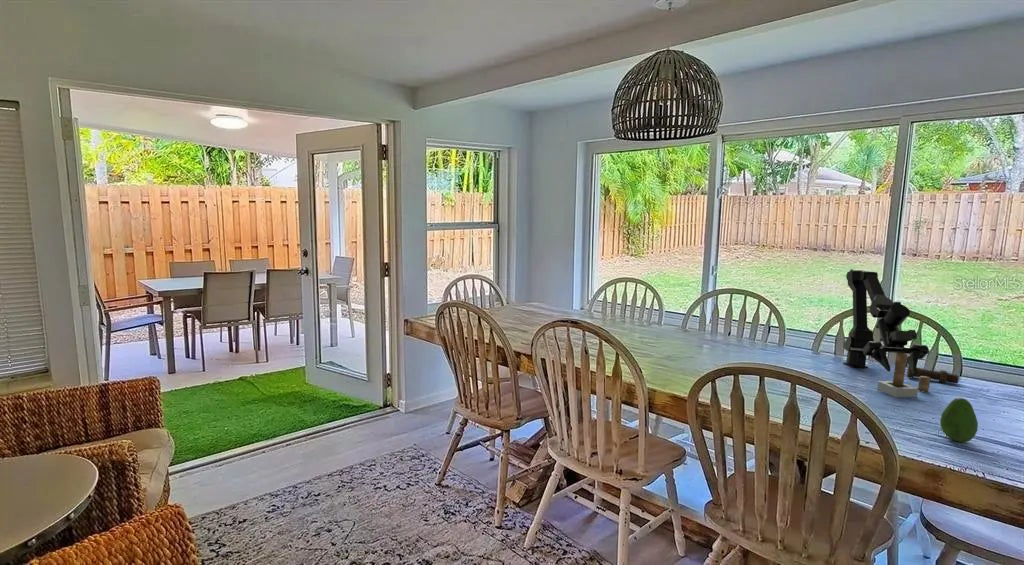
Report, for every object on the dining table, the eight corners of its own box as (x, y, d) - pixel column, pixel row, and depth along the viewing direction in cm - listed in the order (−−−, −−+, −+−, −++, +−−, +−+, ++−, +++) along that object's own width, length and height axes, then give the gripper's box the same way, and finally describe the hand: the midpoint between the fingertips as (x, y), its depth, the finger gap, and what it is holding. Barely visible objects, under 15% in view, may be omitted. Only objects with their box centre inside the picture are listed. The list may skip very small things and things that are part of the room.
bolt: (956, 390, 201) (906, 380, 208) (955, 380, 204) (906, 371, 212) (960, 378, 197) (909, 369, 205) (959, 369, 201) (909, 360, 208)
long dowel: (889, 392, 189) (894, 353, 187) (894, 391, 191) (899, 352, 189) (899, 395, 187) (904, 355, 185) (903, 394, 188) (909, 354, 186)
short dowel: (915, 389, 194) (917, 375, 193) (923, 389, 194) (925, 375, 193) (922, 392, 191) (924, 378, 190) (930, 392, 191) (932, 378, 190)
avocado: (957, 434, 155) (964, 394, 153) (982, 447, 147) (989, 404, 145) (930, 434, 154) (936, 393, 153) (953, 446, 147) (960, 403, 145)
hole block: (877, 389, 192) (878, 381, 192) (897, 389, 193) (898, 381, 193) (895, 397, 184) (896, 389, 184) (917, 397, 185) (918, 388, 185)
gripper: (870, 318, 191) (881, 358, 182) (930, 322, 187) (944, 362, 178) (858, 335, 200) (868, 373, 190) (914, 339, 196) (927, 378, 187)
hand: (901, 371), depth 186 cm, fingers open, 7 cm apart
